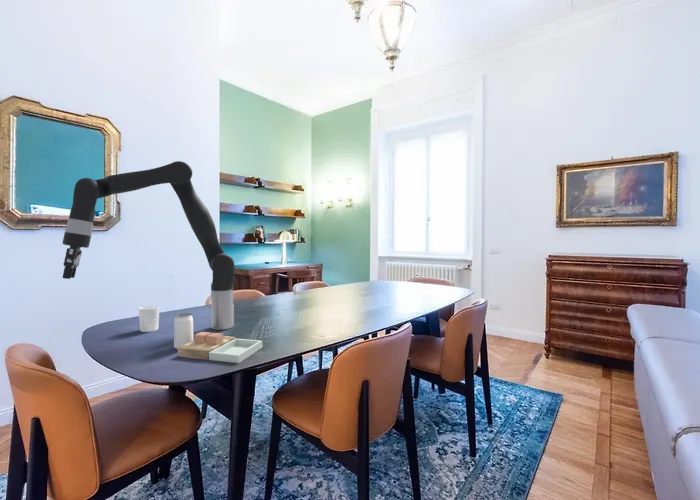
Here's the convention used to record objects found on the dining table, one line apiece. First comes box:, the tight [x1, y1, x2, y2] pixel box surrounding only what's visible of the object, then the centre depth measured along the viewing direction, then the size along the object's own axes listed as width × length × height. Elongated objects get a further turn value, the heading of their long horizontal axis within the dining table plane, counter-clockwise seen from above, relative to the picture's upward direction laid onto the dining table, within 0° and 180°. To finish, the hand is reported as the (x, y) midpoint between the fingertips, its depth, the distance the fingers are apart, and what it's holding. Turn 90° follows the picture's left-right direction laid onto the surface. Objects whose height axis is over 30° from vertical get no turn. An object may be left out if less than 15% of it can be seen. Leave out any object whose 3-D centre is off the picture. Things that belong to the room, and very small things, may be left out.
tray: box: [208, 337, 263, 364], centre depth 121 cm, size 16×11×2 cm
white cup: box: [137, 305, 160, 333], centre depth 148 cm, size 8×8×10 cm
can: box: [173, 312, 194, 350], centre depth 127 cm, size 6×6×12 cm
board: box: [177, 335, 236, 361], centre depth 123 cm, size 16×12×3 cm
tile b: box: [207, 332, 224, 345], centre depth 122 cm, size 4×4×3 cm
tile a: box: [193, 331, 212, 344], centre depth 124 cm, size 4×4×3 cm
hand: (68, 278), depth 120 cm, fingers open, 8 cm apart
